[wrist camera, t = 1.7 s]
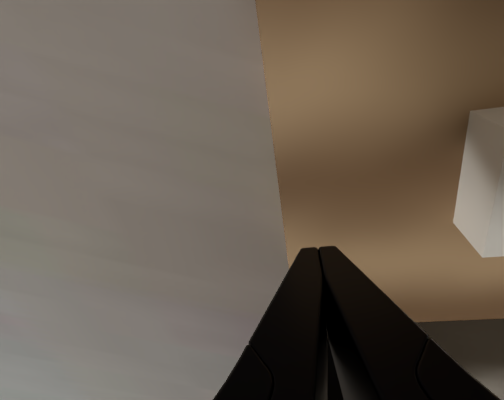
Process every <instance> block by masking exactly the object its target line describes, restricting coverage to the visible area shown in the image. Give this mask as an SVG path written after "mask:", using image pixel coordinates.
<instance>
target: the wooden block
mask: <svg viewBox="0 0 504 400" xmlns="http://www.w3.org/2000/svg"><path fill="white" fill-rule="evenodd" d="M255 1H256V9H257V17H258V25H259V33H260V41H261V49H262V57H263V65H264V73H265V81H266V89H267V97H268V105H269V113H270V121H271V129H272V137H273V145H274V153H275V160H276V168H277V176H278V184H279V192H280V200H281V208H282V216H283V224H284V232H285V240H286V248H287V256H288V264H289V269H290V267H291V265H292V263H293V262H294V260H295V258H296V256H297V254H298V253H299V251H300V249H301V248H308V247H317V248H318V249H319V247H321V246H336V247H337V248H338V249H339V250H340V251H341V252H342V253H343V254H344V255H345V256H346V257H348V258H349V259H350V260H351V261H352V262H353V263H354V264H355V265H356V266H357V267H358V268H359V269H360V270H361V271H362V272H363V273H364V274H365V275H366V276H367V277H368V278H369V279H370V280H371V281H372V282H374V283H375V284H376V285H377V286H378V287H379V288H380V289H381V290H382V291H383V292H384V293H385V294H386V295H387V296H388V297H389V298H390V299H391V300H392V301H393V302H394V303H395V304H396V305H397V306H398V307H400V308H401V309H402V310H403V311H404V312H405V313H406V314H407V315H408V316H409V317H410V318H411V319H412V320H413V321H414V322H433V321H457V320H480V319H504V256H500V257H485V258H482V257H481V256H480V254H479V253H478V252H477V251H476V250H475V248H474V247H473V246H472V245H471V244H470V242H469V241H468V240H467V239H466V238H465V236H464V235H463V234H462V233H461V232H460V230H459V229H458V228H457V227H456V226H455V224H454V223H453V219H454V212H455V206H456V199H457V193H458V186H459V180H460V173H461V167H462V160H463V154H464V147H465V141H466V134H467V127H468V121H469V114H470V111H473V110H481V109H489V108H497V107H504V0H255Z"/></svg>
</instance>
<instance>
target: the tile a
mask: <svg viewBox="0 0 504 400" xmlns="http://www.w3.org/2000/svg"><path fill="white" fill-rule="evenodd" d="M453 223H454V224H455V226H456V227H457V228H458V229H459V230H460V232H461V233H462V234H463V235H464V236H465V238H466V239H467V240H468V241H469V242H470V244H471V245H472V246H473V247H474V248H475V250H476V251H477V252H478V253H479V254H480V256H481V257H482V258H485V257H500V256H504V107H497V108H489V109H481V110H473V111H470V114H469V121H468V127H467V134H466V141H465V147H464V154H463V160H462V167H461V173H460V180H459V186H458V193H457V199H456V206H455V212H454V219H453Z"/></svg>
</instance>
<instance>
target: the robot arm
mask: <svg viewBox="0 0 504 400" xmlns="http://www.w3.org/2000/svg"><path fill="white" fill-rule="evenodd" d="M327 334H328V339H329V341H327ZM213 400H500V399H499V398H498V397H497V396H496V395H494V394H493V393H492V392H491V391H490V390H488V389H487V388H486V387H485V386H484V385H483V384H481V383H480V382H479V381H478V380H477V379H475V378H474V377H473V376H472V375H471V374H469V373H468V372H467V371H466V370H465V369H464V368H463V367H462V366H461V365H460V364H459V363H457V362H456V361H455V360H454V359H453V358H452V357H451V356H450V355H449V354H448V353H446V352H445V351H444V350H443V349H442V348H441V347H440V346H439V345H438V344H437V343H436V342H435V341H434V340H433V339H432V338H429V336H428V334H427V333H426V332H424V331H423V330H422V329H421V328H420V327H419V326H418V325H417V324H416V323H415V322H414V321H413V320H412V319H411V318H410V317H409V316H408V315H407V314H406V313H405V312H404V311H403V310H402V309H401V308H400V307H398V306H397V305H396V304H395V303H394V302H393V301H392V300H391V299H390V298H389V297H388V296H387V295H386V294H385V293H384V292H383V291H382V290H381V289H380V288H379V287H378V286H377V285H376V284H375V283H374V282H372V281H371V280H370V279H369V278H368V277H367V276H366V275H365V274H364V273H363V272H362V271H361V270H360V269H359V268H358V267H357V266H356V265H355V264H354V263H353V262H352V261H351V260H350V259H349V258H348V257H346V256H345V255H344V254H343V253H342V252H341V251H340V250H339V249H338V248H337V247H336V246H321V247H319V249H318V248H317V247H308V248H301V249H300V251H299V253H298V254H297V256H296V258H295V260H294V262H293V263H292V265H291V267H290V269H289V271H288V272H287V274H286V276H285V278H284V280H283V281H282V283H281V285H280V287H279V289H278V290H277V292H276V294H275V296H274V298H273V299H272V301H271V303H270V305H269V307H268V308H267V310H266V312H265V314H264V315H263V317H262V319H261V321H260V323H259V324H258V326H257V328H256V330H255V332H254V333H253V335H252V337H251V339H250V341H249V345H247V346H246V347H245V349H244V351H243V353H242V355H241V357H240V358H239V360H238V362H237V363H236V365H235V367H234V368H233V370H232V372H231V373H230V375H229V377H228V378H227V380H226V382H225V383H224V384H223V386H222V387H221V389H220V390H219V392H218V393H217V395H216V396H215V397H214V399H213Z"/></svg>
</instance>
